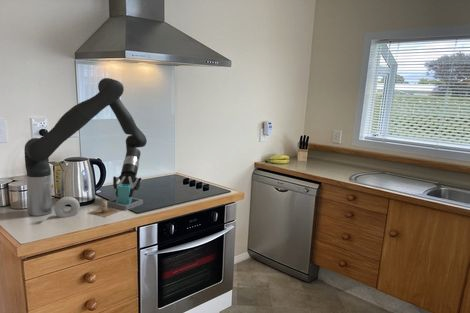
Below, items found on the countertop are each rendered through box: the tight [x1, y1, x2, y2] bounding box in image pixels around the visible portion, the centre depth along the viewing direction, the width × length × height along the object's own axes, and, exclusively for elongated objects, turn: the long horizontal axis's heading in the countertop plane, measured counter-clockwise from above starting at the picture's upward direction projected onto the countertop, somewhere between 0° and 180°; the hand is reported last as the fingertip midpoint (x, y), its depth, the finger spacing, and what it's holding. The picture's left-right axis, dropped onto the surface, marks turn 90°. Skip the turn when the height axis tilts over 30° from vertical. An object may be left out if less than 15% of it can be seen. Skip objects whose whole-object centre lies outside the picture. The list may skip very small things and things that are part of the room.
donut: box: [53, 196, 81, 218], centre depth 150 cm, size 10×3×10 cm, turn 124°
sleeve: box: [117, 184, 133, 205], centre depth 168 cm, size 5×5×9 cm
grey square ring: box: [106, 197, 144, 211], centre depth 169 cm, size 12×12×4 cm
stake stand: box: [88, 200, 121, 218], centre depth 157 cm, size 10×10×6 cm
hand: (123, 196), depth 167 cm, fingers closed on sleeve, 5 cm apart
